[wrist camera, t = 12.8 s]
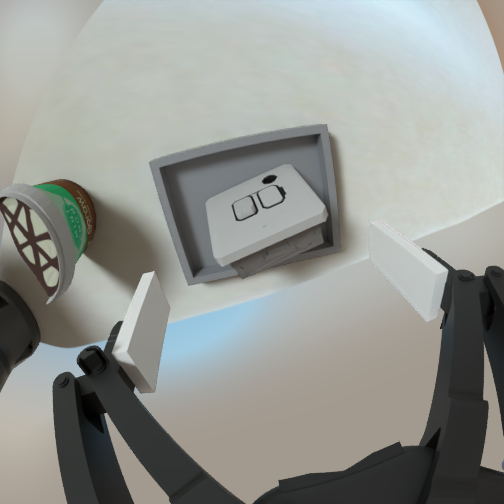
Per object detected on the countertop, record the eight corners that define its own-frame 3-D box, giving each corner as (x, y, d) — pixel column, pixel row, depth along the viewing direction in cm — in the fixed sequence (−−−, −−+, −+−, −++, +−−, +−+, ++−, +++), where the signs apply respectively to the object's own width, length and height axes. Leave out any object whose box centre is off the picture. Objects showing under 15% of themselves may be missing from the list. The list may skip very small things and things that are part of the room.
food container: (124, 242, 29) (90, 290, 20) (86, 261, 30) (49, 309, 21) (77, 147, 24) (22, 161, 15) (41, 174, 24) (-13, 198, 15)
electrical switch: (288, 160, 27) (322, 188, 19) (305, 204, 29) (339, 246, 21) (204, 199, 28) (201, 243, 20) (226, 239, 30) (232, 293, 22)
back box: (190, 274, 32) (188, 285, 29) (155, 159, 26) (148, 162, 24) (333, 242, 32) (340, 251, 30) (318, 124, 26) (327, 124, 24)
